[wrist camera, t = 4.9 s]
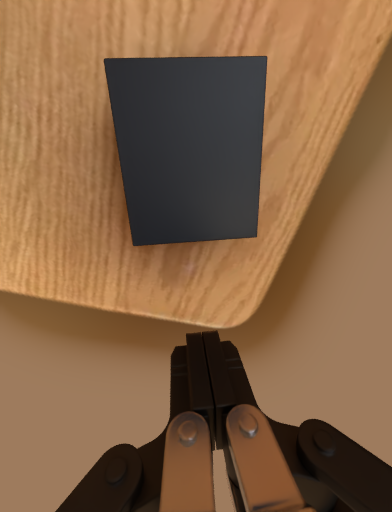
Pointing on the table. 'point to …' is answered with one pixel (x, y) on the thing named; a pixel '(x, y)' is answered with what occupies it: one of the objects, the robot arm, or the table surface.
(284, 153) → the table surface
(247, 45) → the table surface
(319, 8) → the table surface
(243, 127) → the storage box
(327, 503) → the robot arm
